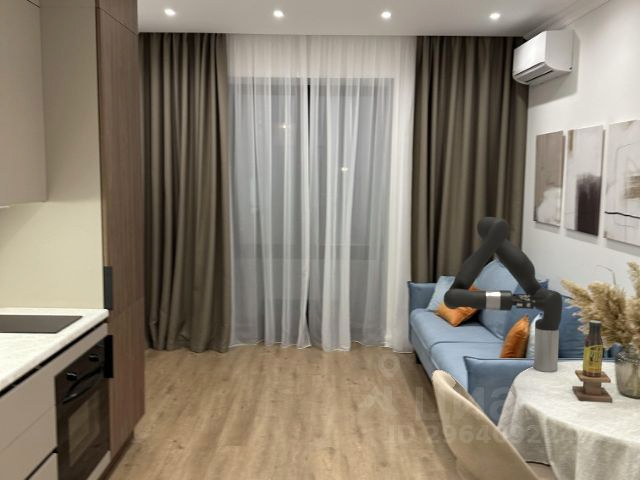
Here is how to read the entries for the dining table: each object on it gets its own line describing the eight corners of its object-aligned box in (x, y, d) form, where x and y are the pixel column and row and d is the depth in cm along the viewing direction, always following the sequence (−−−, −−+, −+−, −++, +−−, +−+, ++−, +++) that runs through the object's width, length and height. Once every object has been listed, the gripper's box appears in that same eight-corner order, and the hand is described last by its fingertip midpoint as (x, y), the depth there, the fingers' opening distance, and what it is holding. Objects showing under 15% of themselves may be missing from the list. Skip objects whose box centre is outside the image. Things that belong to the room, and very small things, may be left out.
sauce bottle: (589, 378, 214) (591, 324, 212) (578, 372, 220) (580, 319, 218) (605, 377, 215) (608, 323, 213) (594, 371, 221) (596, 318, 219)
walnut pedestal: (572, 389, 225) (573, 369, 224) (603, 391, 223) (604, 370, 222) (579, 400, 214) (580, 379, 213) (612, 402, 212) (613, 380, 211)
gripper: (500, 294, 216) (547, 295, 213) (496, 286, 230) (540, 287, 227) (500, 314, 217) (547, 316, 214) (496, 305, 231) (540, 307, 228)
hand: (543, 301), depth 221 cm, fingers open, 8 cm apart
